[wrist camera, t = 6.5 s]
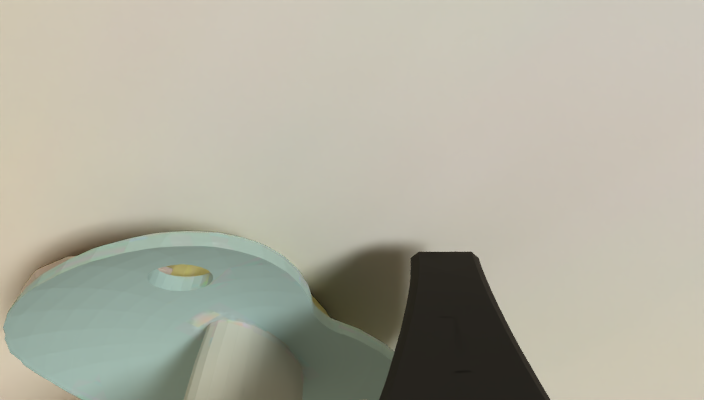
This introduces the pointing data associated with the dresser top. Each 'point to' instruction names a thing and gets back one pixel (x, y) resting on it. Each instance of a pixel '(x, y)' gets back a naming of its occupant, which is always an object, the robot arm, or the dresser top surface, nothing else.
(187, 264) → the pacifier
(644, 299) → the dresser top surface
